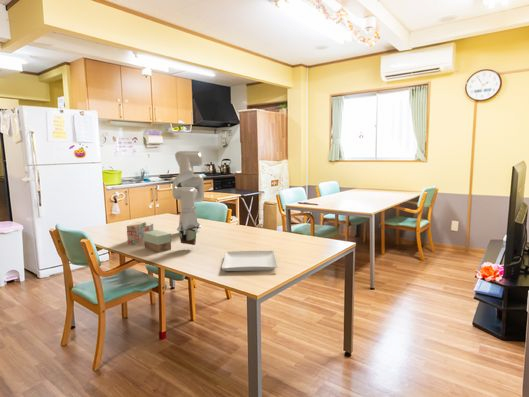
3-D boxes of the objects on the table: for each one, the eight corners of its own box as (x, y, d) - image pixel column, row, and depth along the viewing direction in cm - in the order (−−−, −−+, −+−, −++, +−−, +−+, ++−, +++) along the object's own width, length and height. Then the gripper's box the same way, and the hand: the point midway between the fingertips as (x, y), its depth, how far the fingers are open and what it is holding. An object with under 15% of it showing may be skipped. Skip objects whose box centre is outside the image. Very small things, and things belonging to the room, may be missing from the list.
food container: (201, 242, 203) (201, 226, 201) (196, 245, 198) (195, 228, 196) (184, 239, 208) (184, 224, 206) (178, 242, 202) (178, 226, 200)
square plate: (274, 256, 189) (274, 249, 189) (277, 273, 162) (277, 266, 162) (225, 257, 188) (225, 250, 188) (221, 274, 161) (221, 267, 161)
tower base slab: (158, 245, 212) (157, 237, 212) (171, 250, 202) (170, 241, 202) (144, 248, 206) (144, 240, 205) (157, 253, 196) (157, 245, 195)
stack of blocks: (145, 236, 235) (144, 218, 233) (154, 236, 234) (153, 219, 232) (127, 244, 214) (126, 225, 213) (136, 245, 213) (135, 225, 211)
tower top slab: (156, 237, 212) (156, 230, 211) (171, 241, 202) (170, 233, 202) (143, 240, 205) (143, 232, 204) (158, 244, 195) (157, 236, 195)
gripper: (196, 206, 207) (197, 235, 210) (171, 211, 195) (173, 241, 198) (204, 208, 202) (204, 237, 205) (178, 213, 190) (180, 243, 193)
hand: (189, 239), depth 202 cm, fingers closed on food container, 6 cm apart
